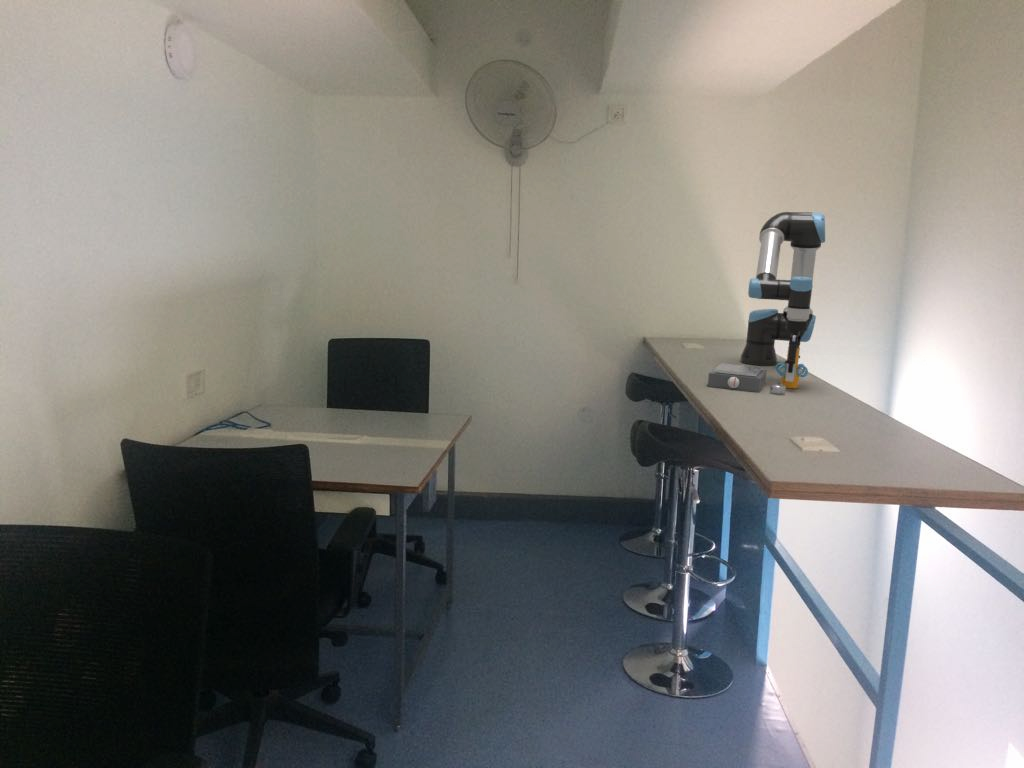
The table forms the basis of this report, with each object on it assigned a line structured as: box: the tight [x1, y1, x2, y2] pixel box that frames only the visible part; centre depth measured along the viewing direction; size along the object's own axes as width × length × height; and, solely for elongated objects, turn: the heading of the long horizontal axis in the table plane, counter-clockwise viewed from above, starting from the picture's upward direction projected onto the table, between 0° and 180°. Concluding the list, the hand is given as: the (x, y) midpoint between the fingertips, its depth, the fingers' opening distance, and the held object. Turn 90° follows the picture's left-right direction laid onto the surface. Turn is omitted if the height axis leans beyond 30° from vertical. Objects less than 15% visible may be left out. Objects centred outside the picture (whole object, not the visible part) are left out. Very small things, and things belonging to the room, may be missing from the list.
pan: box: [713, 362, 763, 377], centre depth 277 cm, size 15×15×5 cm
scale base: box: [707, 364, 767, 393], centre depth 277 cm, size 19×18×5 cm
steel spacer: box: [769, 383, 787, 396], centre depth 265 cm, size 5×5×3 cm
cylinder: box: [775, 345, 809, 390], centre depth 275 cm, size 12×10×15 cm
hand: (790, 378), depth 276 cm, fingers closed on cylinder, 12 cm apart
